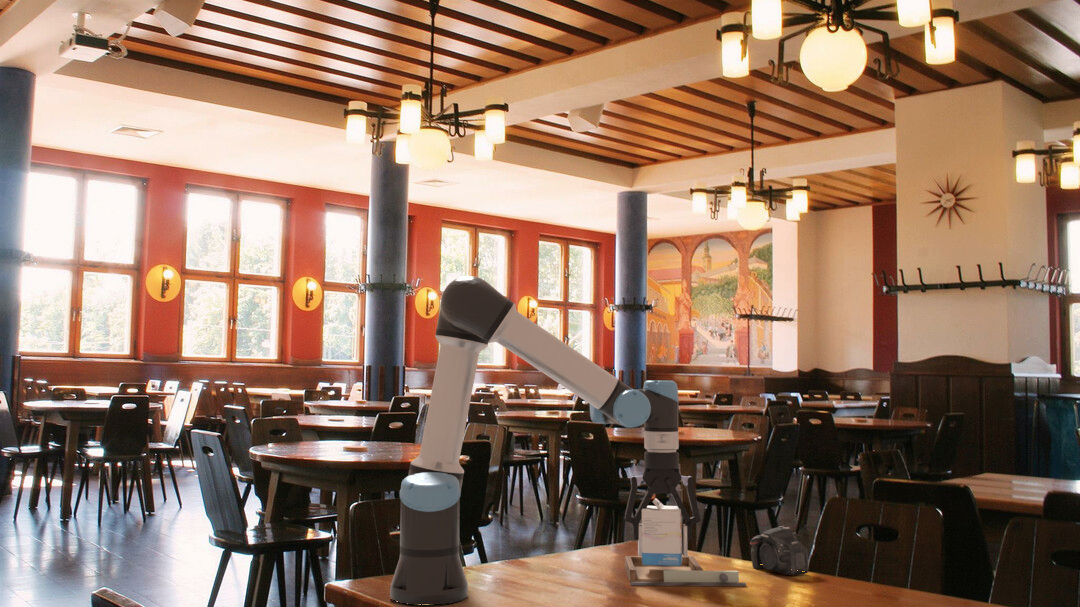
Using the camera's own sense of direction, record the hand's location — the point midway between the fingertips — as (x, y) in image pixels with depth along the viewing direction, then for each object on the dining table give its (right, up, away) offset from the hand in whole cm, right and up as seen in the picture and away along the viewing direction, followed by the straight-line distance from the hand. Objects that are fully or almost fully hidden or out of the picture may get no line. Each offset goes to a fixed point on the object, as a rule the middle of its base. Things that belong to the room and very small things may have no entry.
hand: (662, 555), depth 194 cm
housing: (+4, -4, -1) cm, 6 cm away
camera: (+26, -5, +4) cm, 27 cm away
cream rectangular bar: (+7, -4, -9) cm, 12 cm away
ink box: (0, -2, 0) cm, 2 cm away
